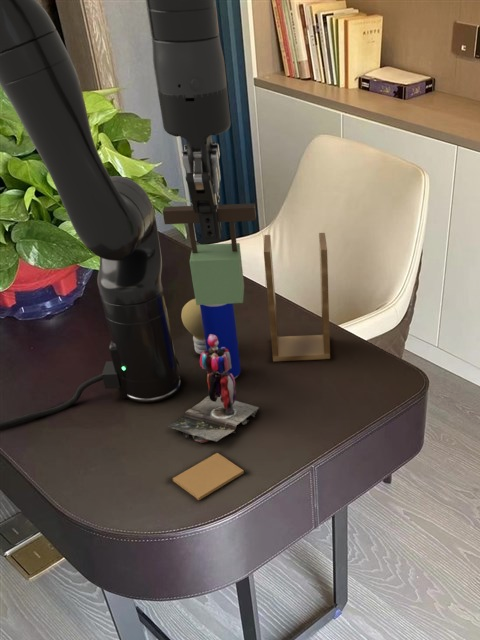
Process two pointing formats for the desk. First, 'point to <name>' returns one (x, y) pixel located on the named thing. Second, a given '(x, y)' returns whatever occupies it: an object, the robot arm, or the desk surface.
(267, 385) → the desk surface
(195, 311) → the light bulb
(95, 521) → the desk surface
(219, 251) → the green block with crossbars
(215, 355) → the statue
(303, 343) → the wooden frame
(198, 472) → the mat
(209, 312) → the beverage can
